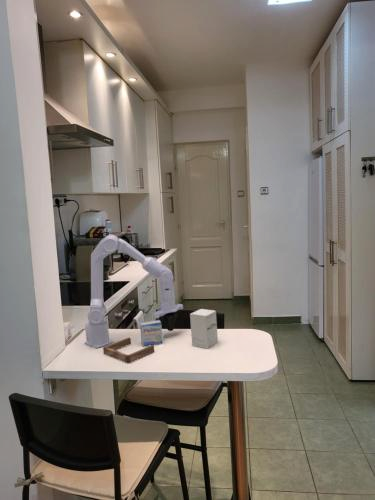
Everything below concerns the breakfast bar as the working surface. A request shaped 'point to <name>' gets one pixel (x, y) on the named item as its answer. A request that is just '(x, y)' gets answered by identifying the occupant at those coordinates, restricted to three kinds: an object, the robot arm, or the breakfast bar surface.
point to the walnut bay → (112, 352)
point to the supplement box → (203, 328)
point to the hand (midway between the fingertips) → (170, 330)
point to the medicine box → (151, 332)
